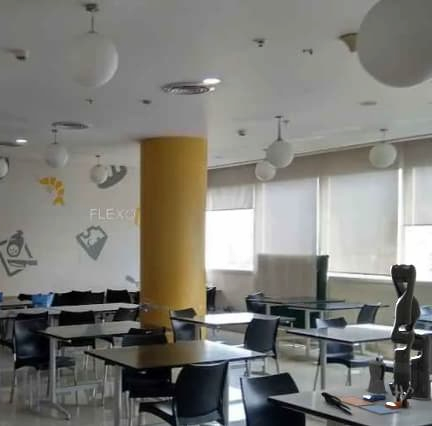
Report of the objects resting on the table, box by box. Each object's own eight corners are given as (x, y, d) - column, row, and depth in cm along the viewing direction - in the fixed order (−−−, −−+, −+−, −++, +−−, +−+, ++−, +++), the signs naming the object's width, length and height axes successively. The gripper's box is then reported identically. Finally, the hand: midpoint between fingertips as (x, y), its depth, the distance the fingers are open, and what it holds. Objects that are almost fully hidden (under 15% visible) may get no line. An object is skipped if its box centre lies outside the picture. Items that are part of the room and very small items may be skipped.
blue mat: (378, 405, 300) (378, 404, 300) (398, 412, 289) (398, 411, 289) (359, 407, 295) (359, 406, 295) (380, 414, 284) (380, 413, 284)
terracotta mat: (352, 397, 314) (352, 396, 314) (374, 404, 302) (374, 403, 302) (335, 399, 309) (335, 398, 309) (356, 406, 297) (356, 405, 297)
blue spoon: (380, 397, 316) (380, 392, 317) (389, 400, 312) (389, 395, 312) (360, 399, 311) (360, 394, 311) (369, 402, 306) (369, 396, 306)
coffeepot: (363, 388, 338) (364, 355, 338) (380, 388, 337) (381, 355, 338) (374, 394, 322) (374, 360, 323) (392, 395, 322) (393, 361, 323)
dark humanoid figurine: (363, 399, 282) (334, 383, 306) (347, 405, 280) (319, 388, 305) (367, 416, 282) (338, 398, 307) (350, 422, 281) (322, 404, 305)
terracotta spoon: (403, 404, 304) (403, 399, 304) (412, 407, 299) (412, 402, 299) (383, 406, 298) (383, 401, 298) (392, 409, 293) (392, 404, 293)
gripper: (419, 373, 295) (419, 409, 295) (395, 367, 308) (394, 402, 307) (408, 374, 292) (408, 411, 291) (384, 368, 305) (384, 403, 304)
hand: (401, 406), depth 299 cm, fingers closed on terracotta spoon, 2 cm apart
